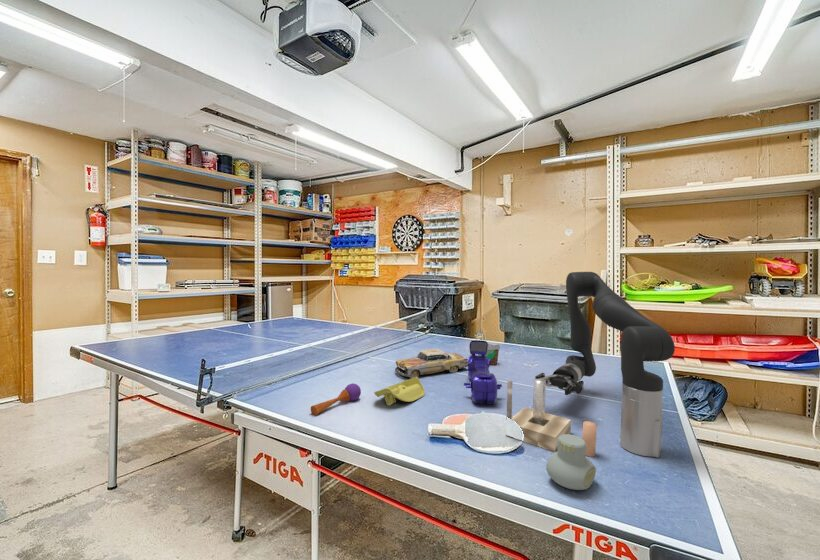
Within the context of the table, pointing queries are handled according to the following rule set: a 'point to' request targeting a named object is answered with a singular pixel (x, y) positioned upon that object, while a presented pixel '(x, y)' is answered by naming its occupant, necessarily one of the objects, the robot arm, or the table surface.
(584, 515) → the table surface
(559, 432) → the socket block
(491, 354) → the food container
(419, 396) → the plastic component
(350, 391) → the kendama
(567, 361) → the robot arm
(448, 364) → the car
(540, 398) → the steel pin
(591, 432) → the terracotta pin
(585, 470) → the air freshener
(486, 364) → the motorcycle
